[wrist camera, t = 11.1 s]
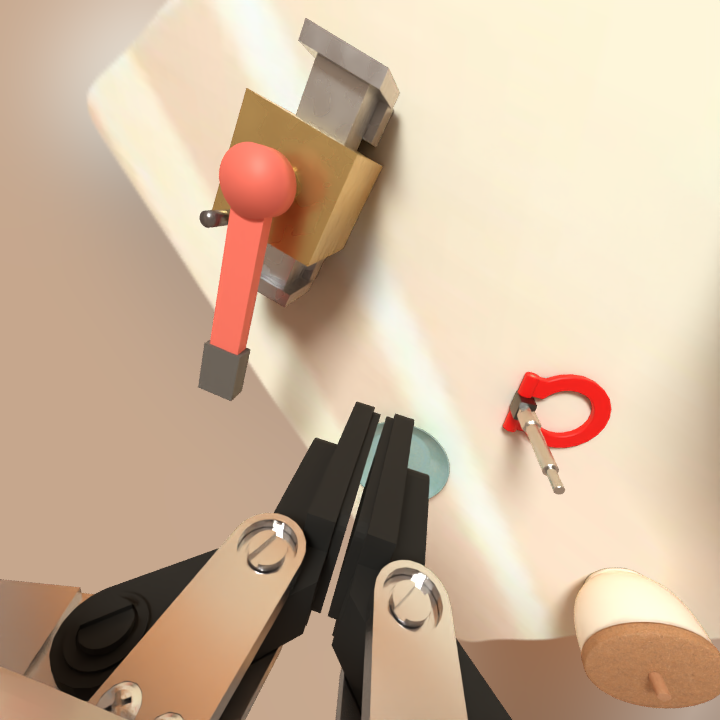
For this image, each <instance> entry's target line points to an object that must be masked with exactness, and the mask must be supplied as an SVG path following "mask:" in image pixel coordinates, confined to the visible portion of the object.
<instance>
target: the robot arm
mask: <svg viewBox="0 0 720 720" xmlns="http://www.w3.org/2000/svg"><path fill="white" fill-rule="evenodd" d="M374 409H375V407H372V406H369V405H366V404H363V403H360V402H356V404H355V406H354V408H353V411H352V413H351V415H350V417H349V420H348V422H347V424H346V426H345V429H344V431H343V433H342V436H341V438H340V440H339V442H338V445H337V444H334V443H331V442H328V441H325V440H322V439H319V438H315V439H314V441H313V442H312V444H311V446H310V448H309V449H308V451H307V453H306V455H305V457H304V459H303V460H302V462H301V464H300V466H299V468H298V470H297V471H296V473H295V475H294V477H293V479H292V481H291V482H290V484H289V486H288V488H287V490H286V492H285V493H284V495H283V497H282V499H281V501H280V503H279V504H278V506H277V508H276V510H275V512H274V513H263V514H258V515H255V516H253V517H251V518H249V519H246V520H245V521H244V522H243V523H241V524H240V525H239V526H238V527H237V528H236V529H235V530H234V532H233V533H232V534H231V535H230V536H229V537H228V539H227V540H226V541H225V542H224V543H223V544H222V546H221V547H220V548H218V549H215V550H213V551H210V552H207V553H204V554H201V555H199V556H196V557H193V558H190V559H187V560H185V561H182V562H179V563H176V564H174V565H171V566H168V567H165V568H162V569H160V570H157V571H154V572H151V573H148V574H146V575H143V576H140V577H137V578H134V579H132V580H129V581H126V582H123V583H120V584H118V585H115V586H112V587H109V588H107V589H104V590H102V591H100V592H98V593H96V594H87V593H81V589H80V587H71V586H61V585H52V584H41V583H32V582H22V581H12V580H2V579H0V720H245V719H246V717H247V716H248V714H249V712H250V710H251V707H252V706H253V704H254V702H255V700H256V698H257V696H258V694H259V692H260V690H261V688H262V686H263V684H264V683H265V680H266V679H267V677H268V675H269V673H270V671H271V669H272V667H273V665H274V663H275V661H276V659H277V657H278V655H279V653H280V651H281V649H282V646H283V645H284V644H285V643H287V642H289V641H291V640H293V639H294V638H296V637H298V636H300V635H301V634H303V632H304V628H305V626H306V625H307V623H308V620H309V616H310V613H311V610H313V611H316V612H318V613H321V610H322V606H323V603H324V600H325V596H326V593H327V590H328V587H329V583H330V580H331V577H332V574H333V570H334V567H335V564H336V560H337V557H338V554H339V551H340V547H341V544H342V540H343V537H344V534H345V531H346V527H347V524H348V521H349V518H350V514H351V511H352V508H353V505H354V501H355V498H356V495H357V491H358V488H359V485H360V481H361V478H362V475H363V471H364V468H365V465H366V462H367V458H368V455H369V452H370V448H371V445H372V442H373V438H374V435H375V432H376V428H377V425H378V422H379V418H380V415H381V414H377V413H374ZM413 426H414V419H410V418H407V417H404V416H401V415H398V414H395V416H394V419H393V418H390V417H386V420H385V423H384V426H383V429H382V433H381V436H380V439H379V442H378V445H377V449H376V452H375V455H374V458H373V461H372V464H371V468H370V471H369V474H368V477H367V480H366V484H365V487H364V490H363V493H362V497H361V500H360V504H359V507H358V511H357V514H356V518H355V522H354V525H353V529H352V532H351V536H350V539H349V543H348V547H347V550H346V554H345V557H344V561H343V564H342V568H341V571H340V575H339V578H338V582H337V585H336V589H335V592H334V596H333V599H332V603H331V606H330V610H329V614H328V616H329V617H331V618H334V619H336V623H335V627H334V631H333V634H332V635H333V636H334V638H333V643H332V647H333V649H334V651H335V653H336V656H337V658H338V660H339V662H340V664H341V667H342V668H341V673H340V679H339V689H338V699H337V709H336V720H512V719H511V717H510V716H509V715H508V713H507V712H506V710H505V709H504V707H503V706H502V704H501V703H500V701H499V700H498V699H497V697H496V696H495V694H494V693H493V691H492V690H491V688H490V687H489V685H488V684H487V683H486V681H485V680H484V678H483V677H482V675H481V674H480V672H479V671H478V669H477V668H476V667H475V665H474V664H473V662H472V661H471V659H470V658H469V656H468V655H467V654H466V652H465V651H464V649H463V648H462V646H461V645H460V643H459V642H458V640H457V639H456V637H455V630H454V623H453V617H452V610H451V604H450V601H449V597H448V594H447V592H446V590H445V588H444V586H443V585H442V583H441V581H440V580H439V579H438V578H437V577H436V576H435V575H434V573H433V572H432V571H430V570H429V569H427V568H426V567H425V552H426V535H427V518H428V501H429V484H430V477H429V475H428V474H425V473H422V472H419V471H416V470H413V469H410V468H408V461H409V454H410V447H411V440H412V433H413Z"/></svg>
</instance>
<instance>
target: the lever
mask: <svg viewBox="0 0 720 720" xmlns="http://www.w3.org/2000/svg"><path fill="white" fill-rule="evenodd" d="M219 181H220V186H221V190H222V193H223V195H224V198H225V199H226V201H227V203H228V204H229V205H230V207H231V208H230V215H229V221H228V228H227V234H226V241H225V248H224V254H223V261H222V267H221V274H220V281H219V287H218V294H217V300H216V307H215V314H214V321H213V327H212V334H211V340H209V341H207V342H206V343H205V344H204V351H203V358H202V365H201V372H200V379H199V386H198V387H199V388H201V389H204V390H206V391H208V392H211V393H213V394H215V395H218V396H220V397H222V398H225V399H227V400H229V401H232V400H233V399H234V398H235V397H236V396H237V395H238V394H239V393H240V392H241V391H242V387H243V382H244V377H245V373H246V368H247V363H248V359H249V354H250V349H248V348H246V344H247V340H248V335H249V330H250V325H251V320H252V315H253V310H254V306H255V301H256V296H257V291H258V286H259V281H260V276H261V272H262V267H263V262H264V257H265V252H266V247H267V242H268V238H269V233H270V228H271V223H272V218H273V217H277V216H280V215H282V214H283V213H285V212H286V211H287V210H288V209H289V208H290V206H291V205H292V203H293V201H294V198H295V195H296V187H297V184H296V176H295V173H294V170H293V167H292V166H291V164H290V162H289V161H288V159H287V158H286V157H285V156H284V155H283V154H282V153H281V152H279V151H278V150H276V149H274V148H271V147H267V146H264V145H260V144H257V143H253V142H242V143H238V144H236V145H234V146H233V147H231V148H230V149H229V150H228V151H227V152H226V154H225V155H224V157H223V159H222V162H221V165H220V170H219Z"/></svg>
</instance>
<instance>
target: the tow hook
mask: <svg viewBox="0 0 720 720" xmlns="http://www.w3.org/2000/svg"><path fill="white" fill-rule="evenodd" d="M561 391H575V392H579V393H581V394H583V395H585V396H586V397H588V398H589V400H590V401H591V406H592V409H591V414H590V416H589V418H588V420H587V421H586V422H585V423H584V424H583V425H582V426H580V427H579V428H577V429H575V430H572V431H569V432H564V433H555V432H550V431H547V430H545V429H543V428H542V427H541V424H540V422H539V420H538V418H537V416H536V413H535V410H536V408H537V405H536V403H535V401H534V399H533V397H536V398H540V399H544V398H546V397H547V396H549V395H551V394H554V393H556V392H561ZM610 413H611V404H610V399H609V397H608V396H607V394H606V392H605V391H604V390H603V388H602V387H600V386H599V385H598V384H597V383H596V382H595V381H593V380H590V379H588V378H586V377H584V376H578V375H573V374H570V375H557V376H553V377H549V378H547V379H546V378H542V377H539V376H538V375H537V374H535V373H531V372H526V374H525V376H524V378H523V381H522V383H521V385H520V387H519V390H518V391H517V392H516V394H515V396H514V399H513V401H512V403H511V405H510V410H509V413H508V415H507V417H506V419H505V422H504V424H503V427H504V429H506V430H507V431H510V432H515V431H516V430H520V431H524V432H525V433H526V435H527V436H528V437H529V440H530V442H531V445H532V447H533V450H534V452H535V455H536V457H537V460H538V462H539V464H540V467H541V469H542V472H543V474H544V475H546V476H547V477H548V479H549V481H550V484H551V486H552V489H553V491H554V493H555V494H563V493H564V492H565V488H564V486H563V484H562V482H561V480H560V478H559V475H558V472H559V469H558V466H557V464H556V462H555V460H554V458H553V456H552V454H551V451H550V449H549V447H554V448H567V447H572V446H577V445H580V444H582V443H585V442H587V441H589V440H591V439H592V438H594V437H595V436H597V435H598V434H599V433H600V432H601V431H602V430H603V429H604V428H605V426H606V424H607V422H608V420H609V418H610ZM548 446H549V447H548Z"/></svg>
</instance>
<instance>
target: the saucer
mask: <svg viewBox="0 0 720 720" xmlns="http://www.w3.org/2000/svg"><path fill="white" fill-rule="evenodd" d="M384 423H385V422H383V423H378V425H377V428H376V432H375V435H374V438H373V442H372V445H371V448H370V452H369V455H368V458H367V462H366V465H365V468H364V471H363V475H362V478H361V481H360V484H361V485H362V486H363V487H365V484H366V480H367V477H368V474H369V471H370V468H371V464H372V461H373V458H374V455H375V452H376V449H377V445H378V442H379V439H380V436H381V433H382V429H383V426H384ZM408 468H410V469H413V470H416V471H419V472H422V473H425V474H428V475H429V477H430V484H429V499H430V498H431V497H433V496H434V495H436V494H438V493H439V492H440V491H441V490H442V489H443V487H444V486H445V484H446V482H447V480H448V477H449V469H450V467H449V460H448V457H447V455H446V452H445V451H444V449H443V447H442V446H441V445H440V443H439V442H438V441H437V440H436V439H435V438H434V437H433V436H431V435H430V434H429V433H427V432H426V431H424V430H422V429H420V428H418V427H416V426H413V433H412V440H411V447H410V454H409V461H408Z"/></svg>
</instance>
